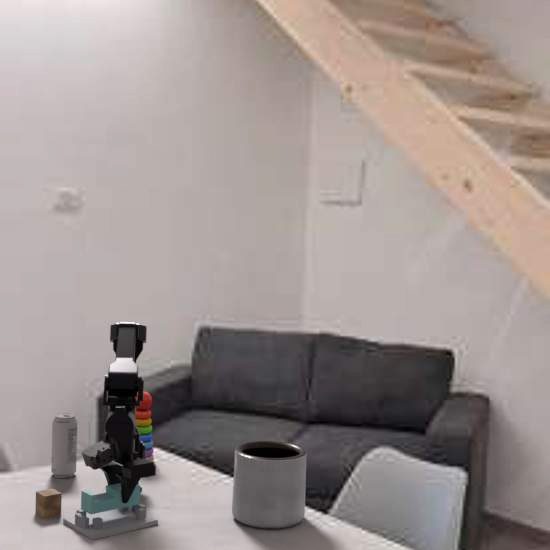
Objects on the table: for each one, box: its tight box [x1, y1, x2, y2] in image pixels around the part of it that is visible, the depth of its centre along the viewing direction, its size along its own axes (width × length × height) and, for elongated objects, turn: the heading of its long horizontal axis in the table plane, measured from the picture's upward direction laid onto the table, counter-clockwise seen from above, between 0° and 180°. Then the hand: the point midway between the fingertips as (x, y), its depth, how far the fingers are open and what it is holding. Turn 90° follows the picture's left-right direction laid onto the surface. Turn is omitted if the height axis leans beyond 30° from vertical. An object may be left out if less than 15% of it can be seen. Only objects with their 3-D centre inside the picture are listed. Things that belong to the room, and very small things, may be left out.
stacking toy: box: [135, 391, 155, 463], centre depth 250 cm, size 8×8×19 cm
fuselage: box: [80, 483, 141, 514], centre depth 202 cm, size 12×4×4 cm, turn 131°
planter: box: [231, 440, 308, 530], centre depth 210 cm, size 16×16×16 cm
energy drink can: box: [50, 412, 78, 479], centre depth 235 cm, size 6×6×15 cm
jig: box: [62, 502, 159, 541], centre depth 203 cm, size 16×12×3 cm
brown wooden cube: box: [34, 488, 63, 520], centre depth 207 cm, size 4×4×5 cm
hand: (119, 500), depth 204 cm, fingers closed on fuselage, 4 cm apart
